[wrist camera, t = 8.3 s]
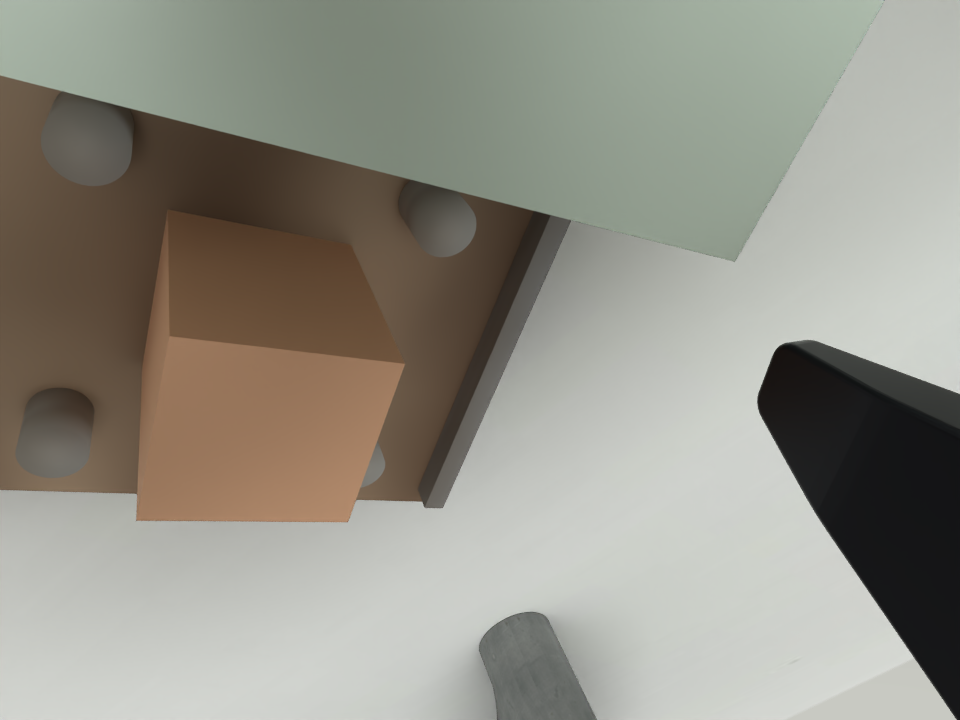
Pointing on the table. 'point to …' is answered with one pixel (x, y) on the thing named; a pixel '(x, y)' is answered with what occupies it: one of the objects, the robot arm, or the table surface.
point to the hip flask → (531, 672)
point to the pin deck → (251, 201)
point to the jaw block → (259, 377)
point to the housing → (483, 92)
